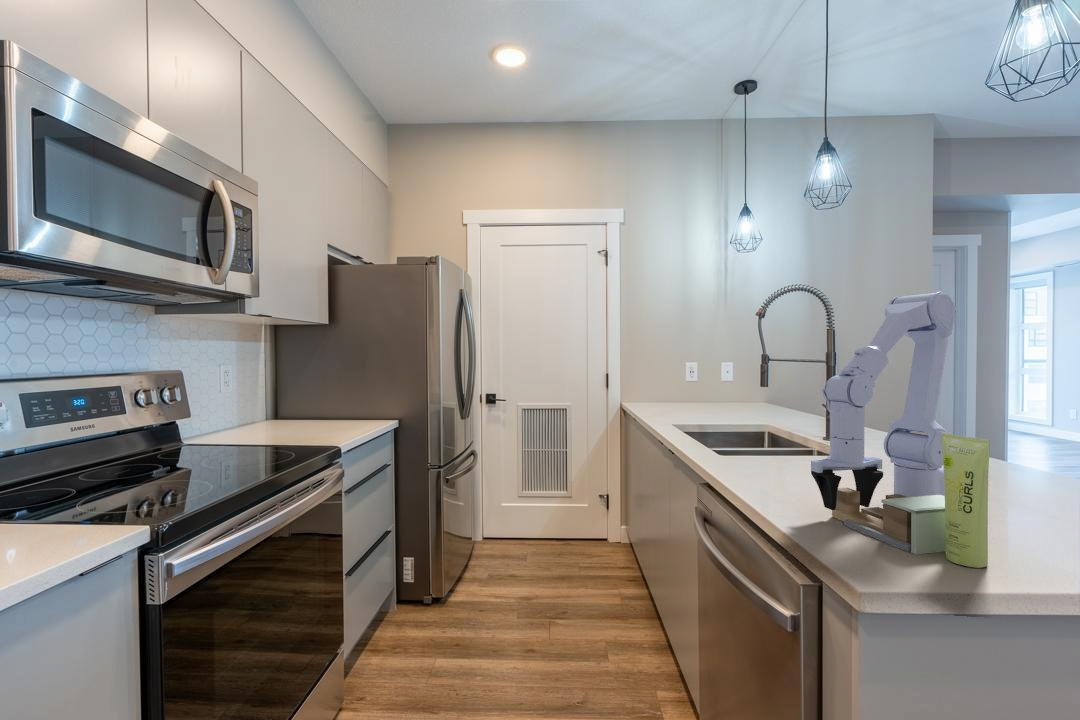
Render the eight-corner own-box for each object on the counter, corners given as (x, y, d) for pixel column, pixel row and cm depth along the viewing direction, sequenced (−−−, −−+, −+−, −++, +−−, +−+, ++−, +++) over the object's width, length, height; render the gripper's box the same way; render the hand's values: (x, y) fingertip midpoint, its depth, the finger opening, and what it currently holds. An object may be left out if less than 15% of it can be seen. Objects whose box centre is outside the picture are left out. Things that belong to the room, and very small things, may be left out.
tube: (940, 562, 78) (940, 435, 78) (941, 552, 82) (941, 431, 81) (989, 572, 74) (990, 439, 74) (988, 561, 78) (988, 435, 78)
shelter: (939, 533, 90) (939, 494, 90) (977, 547, 83) (977, 505, 83) (881, 539, 87) (881, 499, 87) (915, 554, 81) (916, 510, 81)
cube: (904, 527, 89) (904, 502, 89) (929, 536, 84) (929, 509, 84) (883, 529, 88) (883, 503, 88) (906, 539, 83) (906, 511, 83)
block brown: (878, 514, 100) (878, 486, 100) (918, 529, 92) (918, 499, 92) (861, 516, 100) (861, 488, 99) (900, 530, 91) (900, 500, 91)
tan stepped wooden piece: (849, 515, 100) (849, 487, 100) (926, 545, 84) (926, 512, 84) (831, 516, 99) (832, 488, 99) (906, 547, 84) (906, 514, 84)
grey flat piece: (899, 519, 97) (900, 511, 97) (970, 545, 85) (970, 535, 84) (844, 525, 95) (844, 516, 95) (907, 551, 82) (908, 542, 82)
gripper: (861, 432, 103) (861, 498, 104) (799, 435, 100) (799, 503, 101) (892, 438, 97) (891, 509, 97) (826, 441, 94) (826, 514, 94)
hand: (846, 507), depth 98 cm, fingers open, 7 cm apart
